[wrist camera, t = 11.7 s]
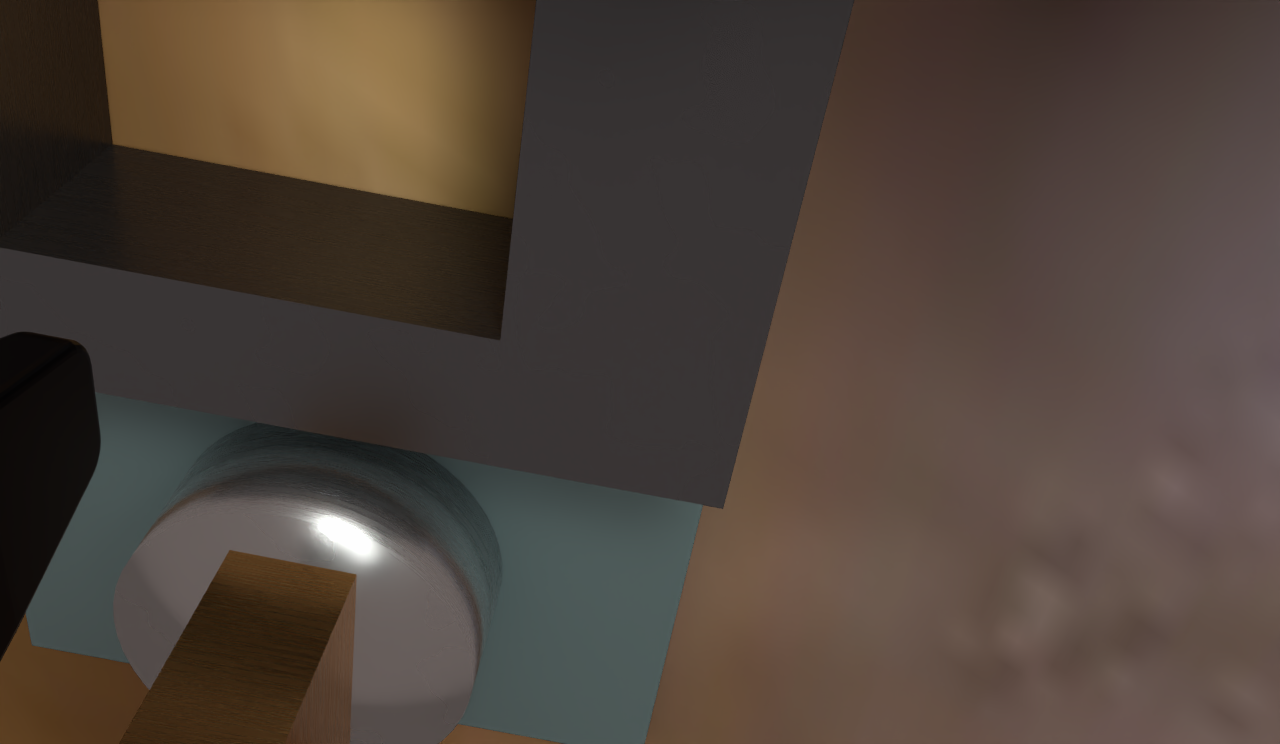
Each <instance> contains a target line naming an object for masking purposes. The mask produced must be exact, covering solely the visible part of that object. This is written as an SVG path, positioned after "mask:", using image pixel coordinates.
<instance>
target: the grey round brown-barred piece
mask: <svg viewBox="0 0 1280 744" xmlns="http://www.w3.org/2000/svg"><path fill="white" fill-rule="evenodd" d="M502 567H503V566H502V558H501V550H500V547H499V543H498V540H497V537H496V533H495V531H494V529H493V527H492V525H491V523H490V520H489V518H488V516H487V515H486V513H485V512H484V510H483V509H482V507H481V506H480V504H479V502H478V501H477V500H476V498H475V497H474V496H473V495H472V494H471V492H470V491H469V490H468V489H467V488H466V487H465V485H464V484H463V483H462V482H461V481H460V480H458V479H457V478H456V477H455V476H454V475H453V474H452V473H451V472H450V471H449V470H448V469H446V468H445V467H444V466H442V465H441V464H440V463H438V462H437V461H436V460H434V459H433V458H432V457H430V456H429V455H427V454H425V453H420V452H415V451H409V450H404V449H399V448H393V447H388V446H382V445H377V444H372V443H366V442H361V441H355V440H350V439H345V438H339V437H334V436H328V435H323V434H318V433H312V432H307V431H301V430H296V429H291V428H285V427H280V426H275V425H269V424H264V423H258V422H257V423H254V424H251V425H248V426H245V427H242V428H239V429H237V430H235V431H233V432H231V433H229V434H227V435H225V436H223V437H221V438H220V439H219V440H217V441H216V442H215V443H213V444H212V445H211V446H209V447H208V448H207V449H206V450H205V451H204V452H203V453H202V454H201V455H200V456H199V457H198V458H197V459H196V460H195V462H194V463H193V465H192V466H191V468H190V469H189V471H188V472H187V474H186V475H185V477H184V478H183V480H182V481H181V483H180V484H179V486H178V487H177V489H176V490H175V492H174V493H173V495H172V496H171V498H170V499H169V501H168V502H167V504H166V505H165V507H164V508H163V510H162V511H161V513H160V514H159V516H158V517H157V519H156V520H155V522H154V523H153V525H152V526H151V528H150V529H149V531H148V532H147V534H146V535H145V537H144V538H143V540H142V541H141V543H140V544H139V546H138V547H137V549H136V550H135V552H134V553H133V555H132V556H131V558H130V559H129V561H128V562H127V564H126V566H125V567H124V569H123V570H122V572H121V574H120V577H119V579H118V582H117V585H116V588H115V594H114V600H113V616H114V623H115V628H116V633H117V637H118V639H119V642H120V644H121V647H122V650H123V652H124V654H125V656H126V658H127V659H128V661H129V663H130V665H131V666H132V668H133V670H134V671H135V672H136V674H137V675H138V676H139V678H140V679H141V681H142V682H143V683H144V684H145V686H146V687H147V688H148V689H149V692H148V694H147V696H146V697H145V699H144V701H143V703H142V704H141V706H140V708H139V710H138V711H137V713H136V715H135V717H134V718H133V720H132V722H131V724H130V725H129V727H128V729H127V731H126V732H125V734H124V736H123V738H122V739H121V741H120V743H119V744H438V743H440V742H441V741H442V740H443V739H444V738H445V737H446V736H447V735H449V734H450V733H451V732H452V731H453V730H454V728H455V727H456V725H457V724H458V722H459V721H460V720H461V718H462V717H463V715H464V712H465V710H466V708H467V706H468V703H469V700H470V697H471V693H472V689H473V686H474V682H475V679H476V675H477V671H478V668H479V664H480V661H481V657H482V654H483V650H484V646H485V643H486V639H487V636H488V632H489V628H490V625H491V621H492V618H493V614H494V610H495V607H496V603H497V600H498V596H499V592H500V587H501V583H502Z"/></svg>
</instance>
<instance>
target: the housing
mask: <svg viewBox="0 0 1280 744" xmlns="http://www.w3.org/2000/svg"><path fill="white" fill-rule="evenodd" d="M853 3H854V0H536V8H535V17H534V27H533V36H532V46H531V55H530V65H529V74H528V83H527V93H526V102H525V112H524V121H523V131H522V140H521V150H520V159H519V168H518V178H517V187H516V197H515V206H514V216H513V219H510V218H504V217H499V216H494V215H488V214H483V213H478V212H472V211H467V210H462V209H456V208H451V207H445V206H440V205H435V204H429V203H424V202H419V201H413V200H408V199H403V198H397V197H392V196H386V195H381V194H376V193H370V192H365V191H360V190H354V189H349V188H344V187H338V186H333V185H328V184H322V183H317V182H311V181H306V180H301V179H295V178H290V177H285V176H279V175H274V174H269V173H263V172H258V171H252V170H247V169H242V168H236V167H231V166H226V165H220V164H215V163H210V162H204V161H199V160H193V159H188V158H183V157H177V156H172V155H167V154H161V153H156V152H151V151H145V150H140V149H134V148H129V147H124V146H118V145H113V144H112V138H111V128H110V119H109V109H108V99H107V90H106V80H105V71H104V61H103V51H102V42H101V32H100V23H99V13H98V3H97V0H0V338H2V337H4V336H7V335H10V334H13V333H16V332H33V333H39V334H44V335H49V336H55V337H60V338H65V339H71V340H75V341H77V342H79V343H80V344H81V345H83V346H84V347H85V348H86V350H87V352H88V354H89V356H90V360H91V364H92V371H93V379H94V387H95V392H97V393H102V394H107V395H113V396H118V397H124V398H129V399H134V400H140V401H145V402H151V403H156V404H161V405H167V406H172V407H178V408H183V409H188V410H194V411H199V412H204V413H210V414H215V415H221V416H226V417H231V418H237V419H242V420H248V421H253V422H258V423H264V424H269V425H275V426H280V427H285V428H291V429H296V430H301V431H307V432H312V433H318V434H323V435H328V436H334V437H339V438H345V439H350V440H355V441H361V442H366V443H372V444H377V445H382V446H388V447H393V448H399V449H404V450H409V451H415V452H420V453H425V454H431V455H436V456H442V457H447V458H452V459H458V460H463V461H469V462H474V463H479V464H485V465H490V466H496V467H501V468H506V469H512V470H517V471H522V472H528V473H533V474H539V475H544V476H549V477H555V478H560V479H566V480H571V481H576V482H582V483H587V484H593V485H598V486H603V487H609V488H614V489H620V490H625V491H630V492H636V493H641V494H646V495H652V496H657V497H663V498H668V499H673V500H679V501H684V502H690V503H695V504H700V505H706V506H711V507H717V508H722V509H723V507H724V503H725V499H726V495H727V491H728V488H729V484H730V480H731V476H732V472H733V468H734V464H735V460H736V457H737V453H738V449H739V445H740V441H741V437H742V433H743V429H744V426H745V422H746V418H747V414H748V410H749V406H750V402H751V398H752V394H753V391H754V387H755V383H756V379H757V375H758V371H759V367H760V363H761V360H762V356H763V352H764V348H765V344H766V340H767V336H768V332H769V329H770V325H771V321H772V317H773V313H774V309H775V305H776V301H777V298H778V294H779V290H780V286H781V282H782V278H783V274H784V270H785V267H786V263H787V259H788V255H789V251H790V247H791V243H792V239H793V236H794V232H795V228H796V224H797V220H798V216H799V212H800V208H801V205H802V201H803V197H804V193H805V189H806V185H807V181H808V177H809V174H810V170H811V166H812V162H813V158H814V154H815V150H816V146H817V142H818V139H819V135H820V131H821V127H822V123H823V119H824V115H825V111H826V108H827V104H828V100H829V96H830V92H831V88H832V84H833V80H834V77H835V73H836V69H837V65H838V61H839V57H840V53H841V49H842V46H843V42H844V38H845V34H846V30H847V26H848V22H849V18H850V15H851V11H852V7H853Z"/></svg>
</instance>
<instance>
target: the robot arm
mask: <svg viewBox="0 0 1280 744" xmlns="http://www.w3.org/2000/svg"><path fill="white" fill-rule="evenodd" d="M100 448H101V434H100V426H99V418H98V410H97V402H96V395H95V387H94V379H93V371H92V364H91V360H90V356H89V354H88V352H87V350H86V348H85V347H84V346H83V345H81V344H80V343H79V342H77V341H75V340H71V339H65V338H60V337H55V336H49V335H44V334H39V333H33V332H16V333H13V334H10V335H7V336H4V337H2V338H0V661H1V659H2V657H3V656H4V654H5V652H6V650H7V648H8V646H9V644H10V642H11V640H12V639H13V637H14V635H15V633H16V631H17V629H18V627H19V625H20V623H21V621H22V619H23V617H24V615H25V613H26V611H27V609H28V607H29V605H30V603H31V601H32V599H33V597H34V595H35V593H36V591H37V588H38V586H39V584H40V582H41V580H42V578H43V576H44V574H45V572H46V570H47V568H48V566H49V564H50V562H51V560H52V558H53V556H54V554H55V552H56V550H57V548H58V546H59V544H60V542H61V540H62V538H63V536H64V534H65V532H66V530H67V528H68V525H69V523H70V521H71V519H72V517H73V515H74V513H75V511H76V509H77V507H78V505H79V503H80V501H81V499H82V497H83V495H84V493H85V491H86V489H87V487H88V485H89V483H90V481H91V479H92V477H93V474H94V472H95V470H96V467H97V463H98V460H99V455H100Z"/></svg>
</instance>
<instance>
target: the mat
mask: <svg viewBox="0 0 1280 744" xmlns="http://www.w3.org/2000/svg"><path fill="white" fill-rule="evenodd" d="M95 395H96V402H97V410H98V418H99V426H100V434H101V448H100V455H99V460H98V463H97V467H96V470H95V472H94V474H93V477H92V479H91V481H90V483H89V485H88V487H87V489H86V491H85V493H84V495H83V497H82V499H81V501H80V503H79V505H78V507H77V509H76V511H75V513H74V515H73V517H72V519H71V521H70V523H69V525H68V528H67V530H66V532H65V534H64V536H63V538H62V540H61V542H60V544H59V546H58V548H57V550H56V552H55V554H54V556H53V558H52V560H51V562H50V564H49V566H48V568H47V570H46V572H45V574H44V576H43V578H42V580H41V582H40V584H39V586H38V588H37V591H36V593H35V595H34V597H33V599H32V601H31V603H30V605H29V607H28V609H27V611H26V617H27V622H28V627H29V632H30V637H31V643H32V645H33V646H39V647H44V648H50V649H55V650H60V651H66V652H71V653H77V654H82V655H87V656H93V657H98V658H104V659H109V660H115V661H120V662H125V663H129V661H128V659H127V658H126V656H125V654H124V652H123V650H122V647H121V644H120V642H119V639H118V637H117V633H116V628H115V623H114V616H113V600H114V594H115V588H116V585H117V582H118V579H119V577H120V574H121V572H122V570H123V569H124V567H125V566H126V564H127V562H128V561H129V559H130V558H131V556H132V555H133V553H134V552H135V550H136V549H137V547H138V546H139V544H140V543H141V541H142V540H143V538H144V537H145V535H146V534H147V532H148V531H149V529H150V528H151V526H152V525H153V523H154V522H155V520H156V519H157V517H158V516H159V514H160V513H161V511H162V510H163V508H164V507H165V505H166V504H167V502H168V501H169V499H170V498H171V496H172V495H173V493H174V492H175V490H176V489H177V487H178V486H179V484H180V483H181V481H182V480H183V478H184V477H185V475H186V474H187V472H188V471H189V469H190V468H191V466H192V465H193V463H194V462H195V460H196V459H197V458H198V457H199V456H200V455H201V454H202V453H203V452H204V451H205V450H206V449H207V448H208V447H209V446H211V445H212V444H213V443H215V442H216V441H217V440H219V439H220V438H221V437H223V436H225V435H227V434H229V433H231V432H233V431H235V430H237V429H239V428H242V427H245V426H248V425H251V424H254V423H257V422H253V421H248V420H242V419H237V418H231V417H226V416H221V415H215V414H210V413H204V412H199V411H194V410H188V409H183V408H178V407H172V406H167V405H161V404H156V403H151V402H145V401H140V400H134V399H129V398H124V397H118V396H113V395H107V394H102V393H97V392H95ZM427 455H429V456H430V457H432V458H433V459H434V460H436V461H437V462H438V463H440V464H441V465H442V466H444V467H445V468H446V469H448V470H449V471H450V472H451V473H452V474H453V475H454V476H455V477H456V478H457V479H458V480H460V481H461V482H462V483H463V484H464V485H465V487H466V488H467V489H468V490H469V491H470V492H471V494H472V495H473V496H474V497H475V498H476V500H477V501H478V502H479V504H480V506H481V507H482V509H483V510H484V512H485V513H486V515H487V516H488V518H489V520H490V523H491V525H492V527H493V529H494V531H495V533H496V537H497V540H498V543H499V547H500V550H501V558H502V566H503V567H502V583H501V587H500V592H499V596H498V600H497V603H496V607H495V610H494V614H493V618H492V621H491V625H490V628H489V632H488V636H487V639H486V643H485V646H484V650H483V654H482V657H481V661H480V664H479V668H478V671H477V675H476V679H475V682H474V686H473V689H472V693H471V697H470V700H469V703H468V706H467V708H466V710H465V712H464V715H463V717H462V718H461V720H460V721H459V722H458V724H461V725H467V726H472V727H478V728H483V729H489V730H494V731H499V732H505V733H510V734H516V735H521V736H526V737H532V738H537V739H543V740H548V741H554V742H559V743H564V744H645V740H646V736H647V732H648V728H649V723H650V719H651V715H652V711H653V707H654V703H655V699H656V695H657V691H658V687H659V683H660V679H661V674H662V670H663V666H664V662H665V658H666V654H667V650H668V646H669V642H670V638H671V634H672V629H673V625H674V621H675V617H676V613H677V609H678V605H679V601H680V597H681V593H682V589H683V585H684V580H685V576H686V572H687V568H688V564H689V560H690V556H691V552H692V548H693V544H694V540H695V535H696V531H697V527H698V523H699V519H700V515H701V511H702V507H703V505H700V504H695V503H690V502H684V501H679V500H673V499H668V498H663V497H657V496H652V495H646V494H641V493H636V492H630V491H625V490H620V489H614V488H609V487H603V486H598V485H593V484H587V483H582V482H576V481H571V480H566V479H560V478H555V477H549V476H544V475H539V474H533V473H528V472H522V471H517V470H512V469H506V468H501V467H496V466H490V465H485V464H479V463H474V462H469V461H463V460H458V459H452V458H447V457H442V456H436V455H431V454H427Z"/></svg>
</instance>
